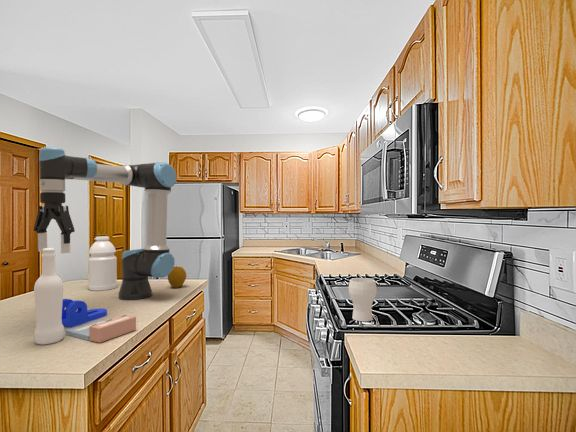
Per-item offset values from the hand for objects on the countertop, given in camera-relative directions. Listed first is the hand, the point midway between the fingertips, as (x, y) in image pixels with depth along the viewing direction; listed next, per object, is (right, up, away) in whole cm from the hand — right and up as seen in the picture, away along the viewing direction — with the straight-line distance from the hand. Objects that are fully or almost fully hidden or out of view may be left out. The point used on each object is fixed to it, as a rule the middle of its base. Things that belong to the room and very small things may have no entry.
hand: (54, 252), depth 128 cm
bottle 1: (+6, -28, -11) cm, 31 cm away
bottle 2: (-17, -27, +67) cm, 74 cm away
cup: (+112, -27, +12) cm, 116 cm away
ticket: (+16, -27, -2) cm, 32 cm away
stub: (+24, -27, -6) cm, 37 cm away
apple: (+22, -26, +70) cm, 78 cm away
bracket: (+4, -28, +12) cm, 30 cm away
